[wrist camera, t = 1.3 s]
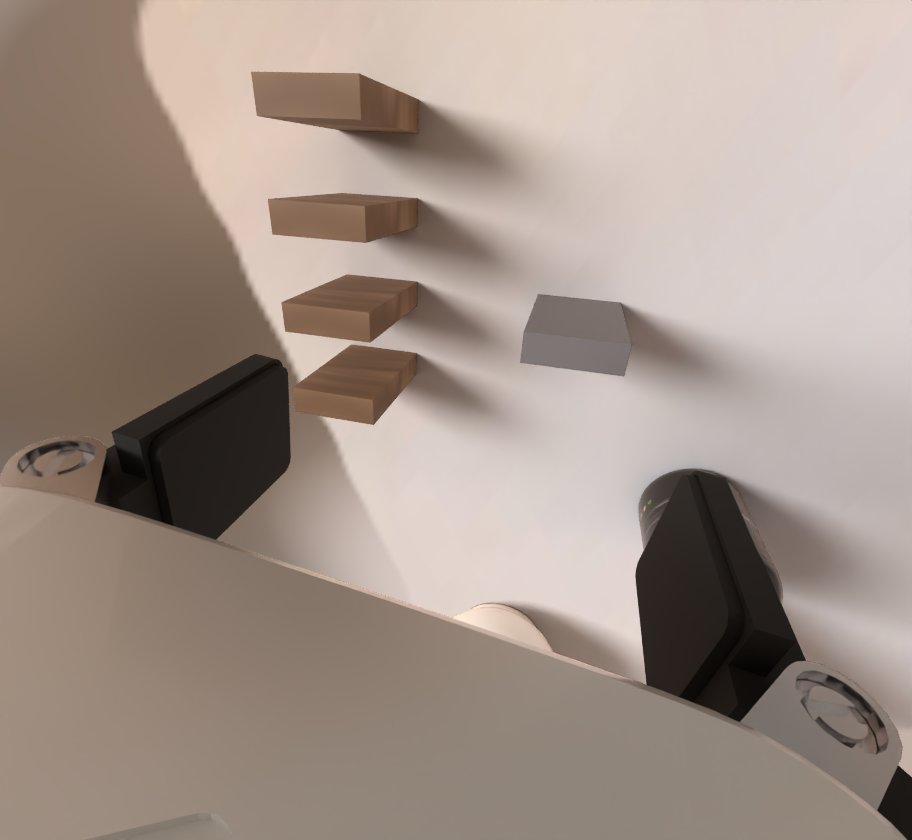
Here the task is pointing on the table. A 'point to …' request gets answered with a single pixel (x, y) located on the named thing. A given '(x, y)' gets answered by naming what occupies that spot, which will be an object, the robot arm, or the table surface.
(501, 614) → the lidded bowl
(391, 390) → the domino
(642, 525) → the supplement bottle
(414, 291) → the domino
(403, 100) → the domino
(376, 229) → the domino
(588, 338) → the domino
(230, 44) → the table surface
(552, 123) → the table surface
